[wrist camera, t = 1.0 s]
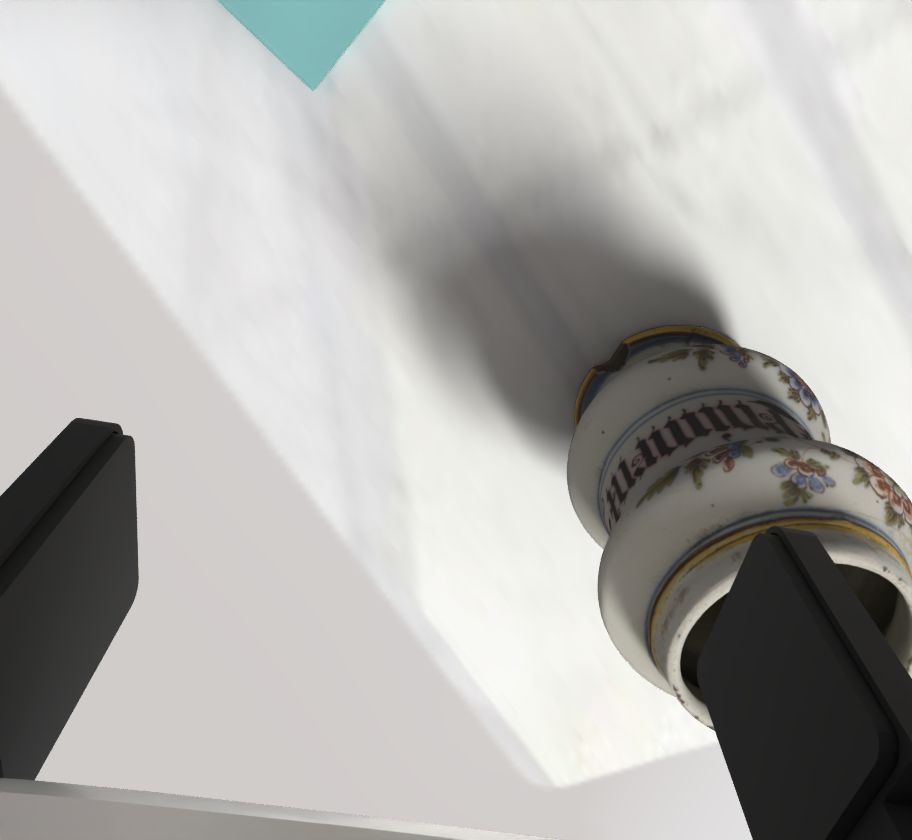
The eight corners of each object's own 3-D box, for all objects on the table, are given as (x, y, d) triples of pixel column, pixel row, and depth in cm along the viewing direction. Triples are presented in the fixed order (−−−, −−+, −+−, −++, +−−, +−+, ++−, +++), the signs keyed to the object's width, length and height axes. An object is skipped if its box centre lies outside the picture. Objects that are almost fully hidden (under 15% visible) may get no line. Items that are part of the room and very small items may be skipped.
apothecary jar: (664, 255, 37) (829, 437, 21) (827, 390, 40) (1075, 636, 24) (507, 430, 41) (542, 690, 25) (666, 538, 45) (785, 827, 29)
